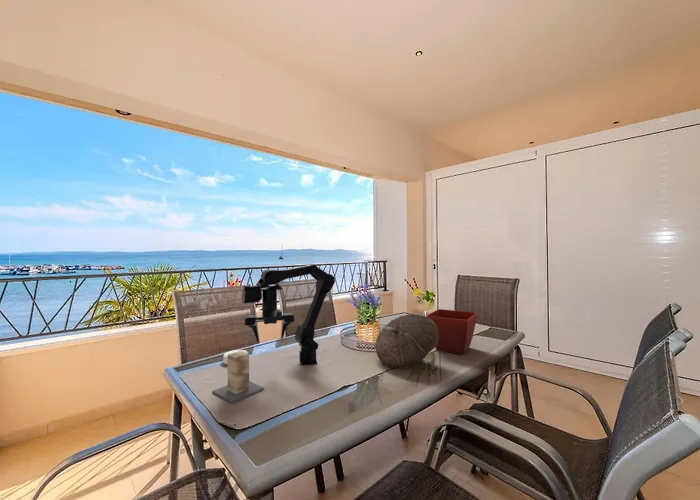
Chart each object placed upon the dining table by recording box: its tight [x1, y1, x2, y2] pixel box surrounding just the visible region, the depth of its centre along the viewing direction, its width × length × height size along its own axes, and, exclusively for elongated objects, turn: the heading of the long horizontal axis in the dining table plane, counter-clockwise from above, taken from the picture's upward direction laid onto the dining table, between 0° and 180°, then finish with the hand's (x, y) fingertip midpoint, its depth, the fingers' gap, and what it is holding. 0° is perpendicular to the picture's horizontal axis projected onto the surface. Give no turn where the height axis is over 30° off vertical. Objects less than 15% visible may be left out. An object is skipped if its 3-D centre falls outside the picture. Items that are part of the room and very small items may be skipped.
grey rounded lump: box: [375, 314, 439, 369], centre depth 128 cm, size 28×23×25 cm
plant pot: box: [426, 308, 478, 355], centre depth 145 cm, size 19×19×17 cm
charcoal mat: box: [212, 380, 265, 404], centre depth 102 cm, size 12×12×1 cm
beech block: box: [227, 351, 250, 394], centre depth 102 cm, size 5×5×12 cm
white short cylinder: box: [222, 349, 248, 366], centre depth 131 cm, size 10×10×4 cm
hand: (269, 340), depth 120 cm, fingers open, 9 cm apart
